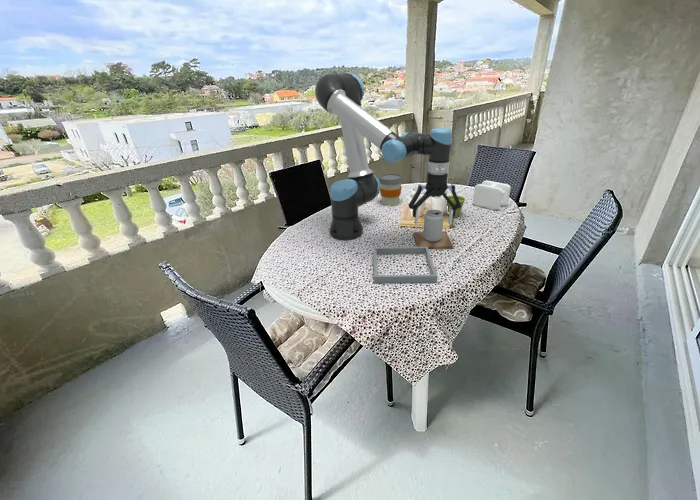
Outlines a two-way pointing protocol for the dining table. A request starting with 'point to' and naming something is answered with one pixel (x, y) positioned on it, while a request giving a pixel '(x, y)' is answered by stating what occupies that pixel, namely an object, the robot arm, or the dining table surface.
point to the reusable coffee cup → (390, 188)
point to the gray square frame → (405, 278)
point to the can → (433, 225)
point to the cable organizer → (491, 194)
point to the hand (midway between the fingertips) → (432, 224)
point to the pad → (441, 244)
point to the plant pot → (461, 200)
